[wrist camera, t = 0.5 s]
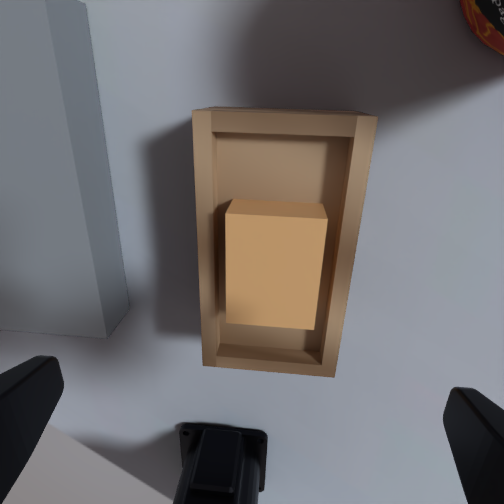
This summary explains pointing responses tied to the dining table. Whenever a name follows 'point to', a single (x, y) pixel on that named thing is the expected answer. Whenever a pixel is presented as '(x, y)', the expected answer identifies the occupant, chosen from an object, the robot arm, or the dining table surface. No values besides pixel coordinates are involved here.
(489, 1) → the canned food
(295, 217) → the block
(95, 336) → the dock
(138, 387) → the dining table surface
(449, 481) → the dining table surface
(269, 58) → the dining table surface
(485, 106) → the dining table surface
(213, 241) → the shallow cardboard tray
